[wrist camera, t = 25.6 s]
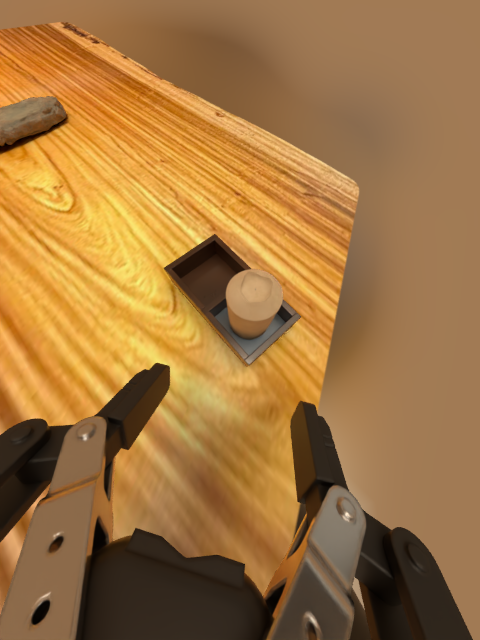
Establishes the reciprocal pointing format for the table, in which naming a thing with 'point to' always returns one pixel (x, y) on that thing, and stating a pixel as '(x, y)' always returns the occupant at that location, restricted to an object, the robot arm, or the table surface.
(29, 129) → the long grey stone
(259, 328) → the candle
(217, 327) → the box
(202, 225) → the table surface
